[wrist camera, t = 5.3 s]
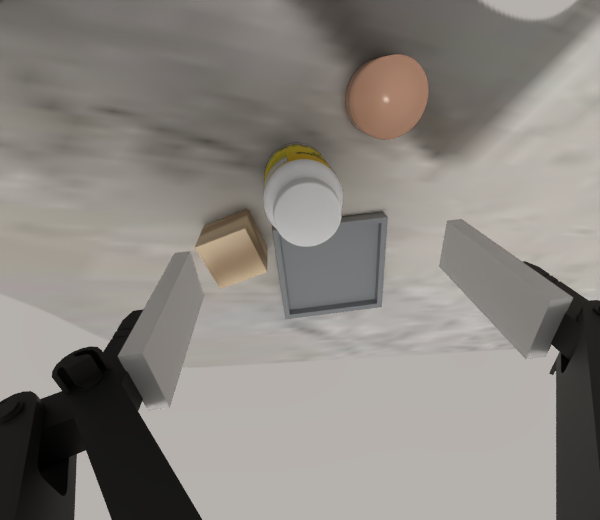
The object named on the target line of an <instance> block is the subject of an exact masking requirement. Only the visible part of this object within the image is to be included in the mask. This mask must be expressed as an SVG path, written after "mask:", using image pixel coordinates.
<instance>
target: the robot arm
mask: <svg viewBox="0 0 600 520" xmlns="http://www.w3.org/2000/svg"><path fill="white" fill-rule="evenodd" d="M439 267H440V268H441V269H442V270H443V271H444V272H445V273H446V274H447V275H448V276H449V277H450V278H451V280H452V281H453V282H454V283H455V284H456V285H457V286H458V287H459V288H460V289H461V290H462V291H463V292H464V293H465V295H466V296H467V297H468V298H469V299H470V300H471V301H472V302H473V303H474V304H475V305H476V306H477V307H478V308H479V310H480V311H481V312H482V313H483V314H484V315H485V316H486V317H487V318H488V319H489V320H490V321H491V322H492V323H493V325H494V326H495V327H496V328H497V329H498V330H499V331H500V332H501V333H502V334H503V335H504V336H505V337H506V338H507V340H508V341H509V342H510V343H511V344H512V345H513V346H514V347H515V348H516V349H517V350H518V351H519V352H520V353H521V355H522V356H523V357H524V358H525V359H531V358H539V357H545V356H546V355H547V353H548V351H549V349H550V347H551V344H552V345H553V346H554V347H555V348H556V349H558V351H560V352H559V354H558V357H557V358H556V361H555V363H554V365H553V367H552V369H551V371H550V374H552V375H553V374H554V372H555V371H556V422H557V423H556V452H557V453H556V459H557V460H556V461H557V462H556V472H557V473H556V485H557V486H556V493H557V494H556V500H557V501H556V514H557V516H556V517H557V518H556V520H600V301H598V300H593V301H588V300H587V299H585V298H584V297H582V296H581V295H579V294H578V293H577V292H575V291H574V290H572V289H571V288H569V287H568V286H566V285H565V284H563V283H562V282H558V280H557V279H556V278H554V277H553V276H550V275H549V273H547V272H546V271H544V270H543V269H541V268H540V267H538V266H535V265H533V264H530V263H528V262H525V261H524V262H522V261H521V260H519V259H518V258H516V257H515V256H513V255H512V254H511V253H509V252H508V251H506V250H505V249H503V248H502V247H501V246H499V245H498V244H496V243H495V242H493V241H492V240H491V239H489V238H488V237H486V236H485V235H483V234H482V233H481V232H479V231H478V230H476V229H475V228H473V227H472V226H471V225H469V224H468V223H466V222H465V221H464V220H462V219H458V220H450V221H447V224H446V230H445V235H444V241H443V247H442V253H441V259H440V264H439ZM203 297H204V294H203V291H202V288H201V285H200V281H199V278H198V275H197V272H196V268H195V265H194V262H193V259H192V256H191V252H190V251H189V252H181V253H175V254H174V255H173V257H172V259H171V261H170V263H169V264H168V266H167V268H166V270H165V272H164V274H163V275H162V277H161V279H160V281H159V283H158V284H157V286H156V288H155V290H154V292H153V293H152V295H151V297H150V299H149V301H148V302H147V304H146V306H145V308H144V310H137V311H133V312H132V313H130V314H129V315H128V316H127V317H126V318H125V319H124V320H123V321H122V323H121V324H120V326H119V328H118V329H117V331H116V332H115V334H114V336H113V339H111V341H110V342H109V344H108V345H107V347H106V349H105V350H104V352H102V350H100V349H99V348H98V347H87V348H82V349H79V350H77V351H74V352H72V353H71V354H69V355H68V356H66V357H64V358H63V359H62V360H61V361H60V362H59V363H58V364H57V365H56V366H55V368H54V370H53V372H52V378H53V379H54V380H55V382H56V383H57V384H58V386H59V387H60V388H61V390H62V391H61V392H59V393H56V394H53V395H51V396H48V397H45V398H42V399H39V397H38V396H37V395H36V394H35V393H33V392H31V391H29V392H21V393H17V394H14V395H12V396H10V397H8V398H6V399H4V400H3V401H1V402H0V520H74V510H75V484H76V458H77V454H78V453H80V452H82V451H85V450H86V451H87V454H88V456H89V459H90V462H91V465H92V467H93V470H94V473H95V475H96V478H97V480H98V483H99V486H100V489H101V491H102V494H103V497H104V499H105V502H106V505H107V508H108V510H109V513H110V516H111V519H112V520H202V519H201V517H200V515H199V514H198V512H197V510H196V508H195V507H194V505H193V503H192V502H191V500H190V498H189V497H188V495H187V493H186V492H185V490H184V488H183V487H182V485H181V483H180V481H179V480H178V478H177V476H176V475H175V473H174V472H173V470H172V468H171V466H170V465H169V463H168V461H167V460H166V458H165V456H164V454H163V453H162V451H161V449H160V448H159V446H158V444H157V443H156V441H155V439H154V438H153V436H152V434H151V433H150V431H149V429H148V428H147V426H146V424H145V423H144V421H143V419H142V418H141V416H140V414H139V413H138V410H139V408H140V405H141V402H142V401H143V402H144V404H145V406H146V408H147V409H148V410H154V409H161V408H169V407H170V405H171V401H172V398H173V394H174V392H175V388H176V385H177V382H178V378H179V375H180V372H181V368H182V365H183V362H184V359H185V356H186V352H187V349H188V346H189V343H190V339H191V336H192V333H193V329H194V326H195V323H196V320H197V316H198V313H199V310H200V307H201V303H202V300H203Z"/></svg>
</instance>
